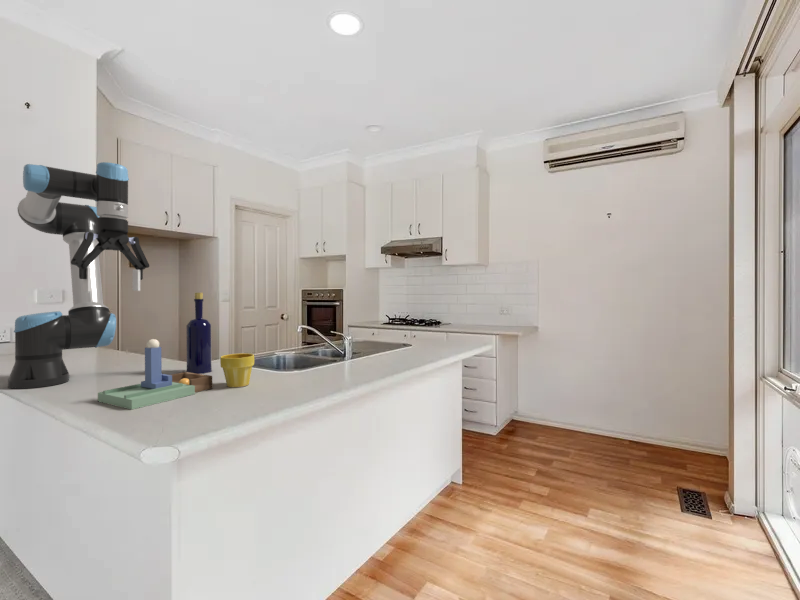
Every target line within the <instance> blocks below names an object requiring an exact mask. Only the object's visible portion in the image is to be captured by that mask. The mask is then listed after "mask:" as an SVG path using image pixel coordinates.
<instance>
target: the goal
mask: <svg viewBox="0 0 800 600" xmlns="http://www.w3.org/2000/svg"><path fill="white" fill-rule="evenodd" d="M171 375H172V382H175V383H178V382H179V381H180V380H181V379H183V378H187V379H189V385H193V386H195V393H200V392H203V391H207V390H212V389H213V375H209V374H204V373H203V374H196V373H189V372H187V371H184V372H179V373H178V372H177V373H174V374H171Z"/></svg>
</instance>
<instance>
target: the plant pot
mask: <svg viewBox="0 0 800 600" xmlns="http://www.w3.org/2000/svg"><path fill="white" fill-rule="evenodd" d="M219 359H220V360H219V362H220V367H221V368H222V370H223V374H224V379H225V383H226V386H227V387H228V388H243V387H247V386H249V384H250V380H251V375H252V370H253V366H254V365H255V355H254V353H248V352H247V353H246V352H245V353H231V354H224V355H221V356H220V358H219Z"/></svg>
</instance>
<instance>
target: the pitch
mask: <svg viewBox="0 0 800 600" xmlns="http://www.w3.org/2000/svg"><path fill="white" fill-rule="evenodd" d="M193 395H195V386H193V385H187V384H183V383H175V382H172V385H170V386H166V387H161V388H156V389H151V388H146V387H141V383H136V384H131V385H126V386H123V387H122V386H121V387H115V388H110V389H106V390H103V391H99V392H97V402H98V401H99V402H98V403H102V402H103V403H102V404H106V403H108V404H107V405H110V404H112V405H111V406H114V405H116V407H119V406H120V407H119V408H123V407H124V409H128V410H137V409H140V408H143V407H147V406H148V407H149V406H152V405H157V404H159V403H164V402H167V401H172V400H177V399H181V398H185V397H188V396H193ZM139 407H140V408H139Z"/></svg>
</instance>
